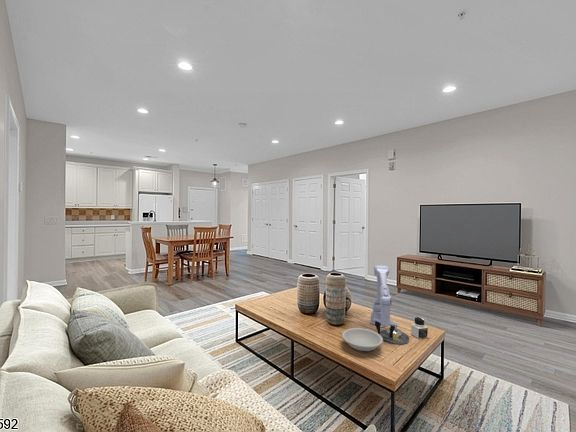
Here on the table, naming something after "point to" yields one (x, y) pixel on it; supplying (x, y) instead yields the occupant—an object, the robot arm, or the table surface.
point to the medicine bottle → (419, 328)
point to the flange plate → (401, 341)
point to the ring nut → (395, 334)
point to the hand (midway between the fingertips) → (384, 335)
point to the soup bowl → (362, 339)
